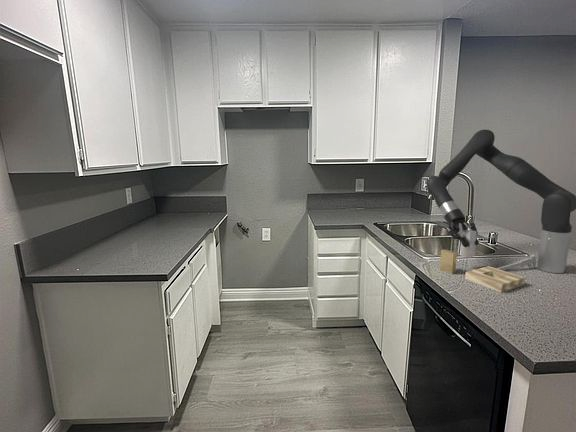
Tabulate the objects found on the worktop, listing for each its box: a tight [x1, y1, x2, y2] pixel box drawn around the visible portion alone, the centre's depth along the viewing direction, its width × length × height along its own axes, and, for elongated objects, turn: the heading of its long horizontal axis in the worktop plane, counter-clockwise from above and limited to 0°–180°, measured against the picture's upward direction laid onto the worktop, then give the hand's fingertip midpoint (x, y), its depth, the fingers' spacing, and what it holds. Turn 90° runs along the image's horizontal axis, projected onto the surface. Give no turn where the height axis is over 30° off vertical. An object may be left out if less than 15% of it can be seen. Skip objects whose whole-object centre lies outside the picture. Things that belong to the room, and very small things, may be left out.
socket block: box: [464, 265, 526, 293], centre depth 120 cm, size 14×14×3 cm
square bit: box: [459, 230, 478, 259], centre depth 132 cm, size 4×4×11 cm
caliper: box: [496, 254, 537, 271], centre depth 131 cm, size 20×1×6 cm, turn 99°
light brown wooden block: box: [439, 249, 458, 275], centre depth 131 cm, size 2×6×9 cm, turn 24°
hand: (471, 245), depth 131 cm, fingers closed on square bit, 4 cm apart
